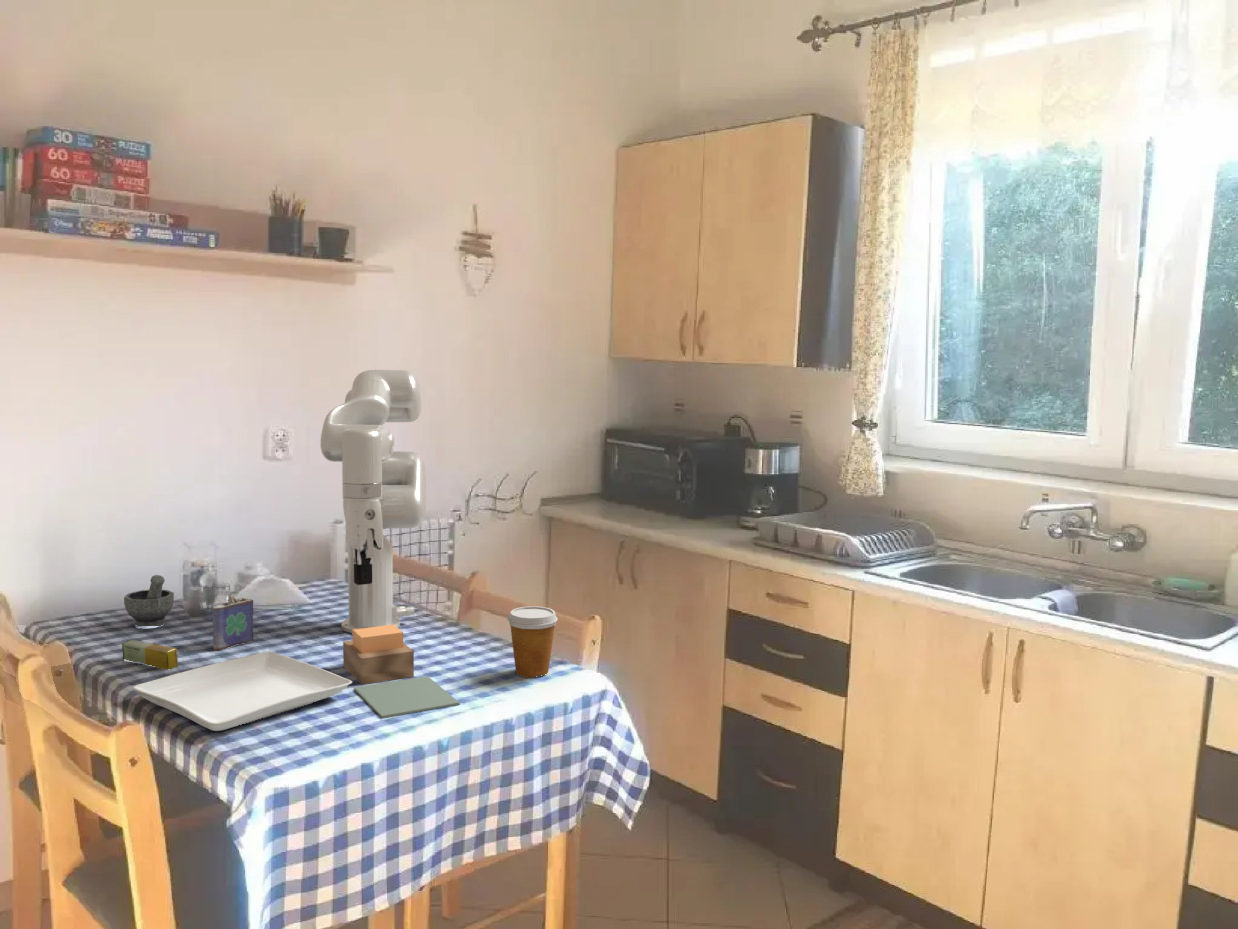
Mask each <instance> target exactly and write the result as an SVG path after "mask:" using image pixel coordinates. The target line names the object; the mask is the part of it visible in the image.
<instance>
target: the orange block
mask: <svg viewBox="0 0 1238 929" xmlns="http://www.w3.org/2000/svg"><path fill="white" fill-rule="evenodd" d="M352 640H353V646H355V647H356V648H357V649H358V650H359V651H360V652H361V653H368V652H375V651H382V650H389V649H397V648H403V643H404V632H403V630H401V629H400V628H397V627H396V626H394V625H385V626H377V627H370V628H362V629H354V630H353V633H352Z"/></svg>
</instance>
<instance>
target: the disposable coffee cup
mask: <svg viewBox="0 0 1238 929" xmlns="http://www.w3.org/2000/svg"><path fill="white" fill-rule="evenodd" d="M507 621H508V623H509V625H510V635H511V642H512V651H513V652H512V653H513V658H514V659H513V660H514V667H515V673H516V675H518V676H519V675H521V676H520V677H522V676H524V677H523V678H529V677H533V678H537V677H536V676H541V675H545V674H547V673H548V674H549V668H550V662H551V655H552V648H553V642H554V641H553V640H554V634H555V626H556V624H557V622H558V616H556V611H555V610H553V609H552V608H549V607H546V606H535V605H534V606H533V605H532V606H521V607H516V608H514V609H511V611H510V612H509V616H508V617H507ZM548 674H547V675H548ZM545 676H546V675H545ZM541 677H542V676H541Z"/></svg>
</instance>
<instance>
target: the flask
mask: <svg viewBox="0 0 1238 929" xmlns="http://www.w3.org/2000/svg"><path fill="white" fill-rule="evenodd" d="M225 596H226V597H227V598H228V599H226V600H227V602H224V603H220V604H217V605H213V606H212V608H211V612H212V649H213V650H214V651H217V650H218V651H220V650H223V649H224V650H227V649H229V648H228V647H231V646H233V645H236V644H240V645H241V644H242V643H244V644H248V643H252V642H251V641H253V640H254V600H253V599H251V598H250V597H248V598H247V597H246V598H245V597H240V598H235V594H234V593H228V594H227V595H225ZM247 642H248V643H247ZM253 642H254V641H253ZM242 645H243V644H242ZM226 648H227V649H226ZM231 648H232V647H231ZM224 650H223V651H224Z"/></svg>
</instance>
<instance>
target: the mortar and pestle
mask: <svg viewBox="0 0 1238 929" xmlns="http://www.w3.org/2000/svg"><path fill="white" fill-rule="evenodd" d="M165 580H166V579H165V578H164V576H162V575H159V574H154V575H152V576H151V577H150V585H149V588H148V589H143V590H137V591H134V592H130V593H127V594H126V595H125V596H124V597H123V600H124V601H123V602H124V607H125V612H127V614H128V615H129V616H130V617H131V618H132V619H133V620H134V624H135V625H137V626H161V625H163V624H164V623H165V622H166V618H165V617H166V616H168V615H169V613H170V612H171V610H172V608H173V606H174V598H175V593H174V592H173V591H172V590H171V591H170V590H168V589H163V585H164V583H165ZM166 623H167V622H166Z"/></svg>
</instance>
